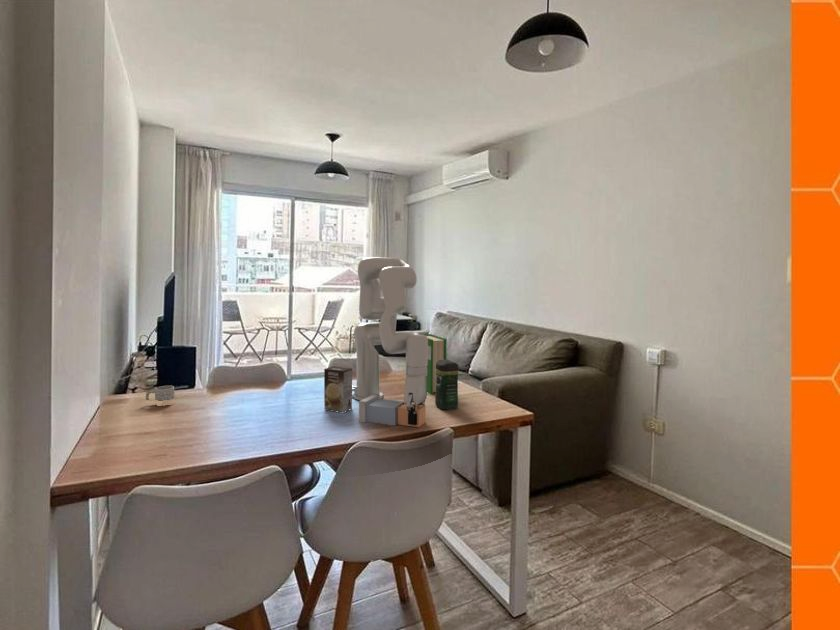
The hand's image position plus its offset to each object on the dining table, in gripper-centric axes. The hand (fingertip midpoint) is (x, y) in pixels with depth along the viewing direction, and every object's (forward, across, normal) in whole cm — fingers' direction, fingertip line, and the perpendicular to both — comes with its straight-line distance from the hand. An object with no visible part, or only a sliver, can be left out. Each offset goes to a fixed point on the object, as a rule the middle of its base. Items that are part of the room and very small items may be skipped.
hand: (416, 421), depth 158 cm
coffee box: (+1, -4, -34) cm, 34 cm away
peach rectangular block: (+1, 0, -2) cm, 2 cm away
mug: (+1, +18, -102) cm, 104 cm away
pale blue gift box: (+1, 0, -13) cm, 13 cm away
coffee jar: (+1, -24, +3) cm, 24 cm away
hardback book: (+1, -48, -13) cm, 50 cm away
